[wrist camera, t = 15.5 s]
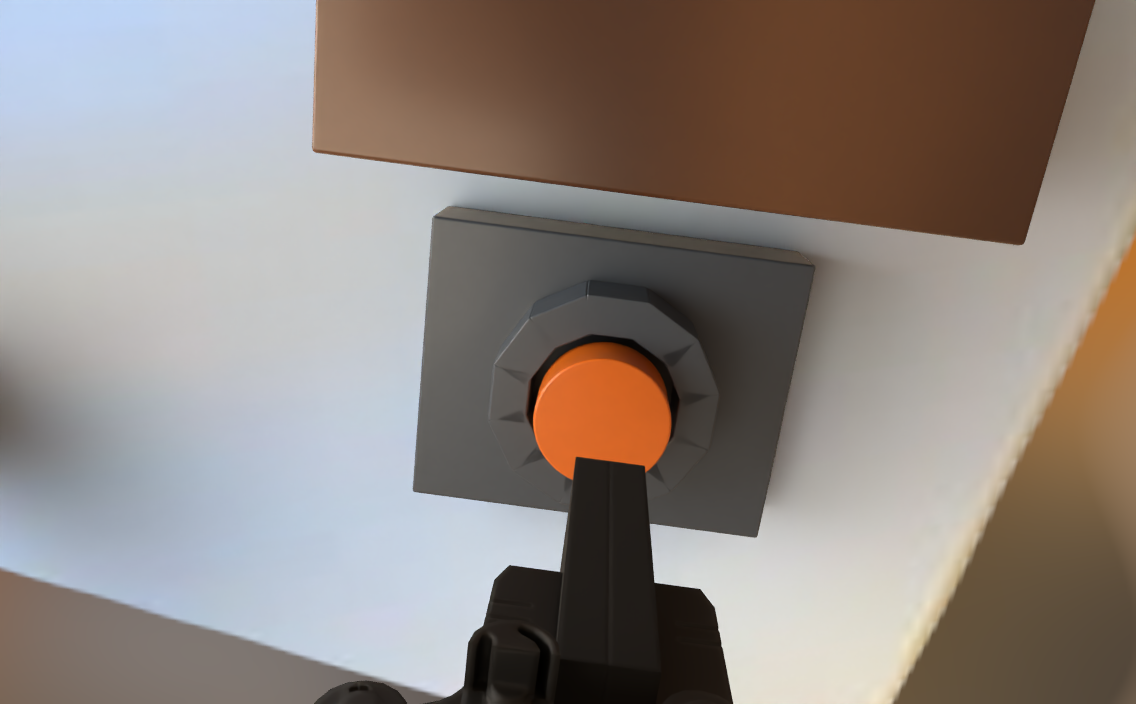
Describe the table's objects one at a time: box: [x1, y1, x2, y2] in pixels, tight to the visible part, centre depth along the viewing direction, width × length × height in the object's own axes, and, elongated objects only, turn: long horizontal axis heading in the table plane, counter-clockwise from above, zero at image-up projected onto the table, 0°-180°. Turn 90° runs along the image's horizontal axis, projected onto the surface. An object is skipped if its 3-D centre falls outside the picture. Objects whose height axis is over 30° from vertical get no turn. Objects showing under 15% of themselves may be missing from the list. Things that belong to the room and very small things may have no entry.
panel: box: [413, 206, 816, 537], centre depth 27 cm, size 10×12×4 cm
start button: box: [533, 342, 672, 480], centre depth 25 cm, size 4×4×2 cm
